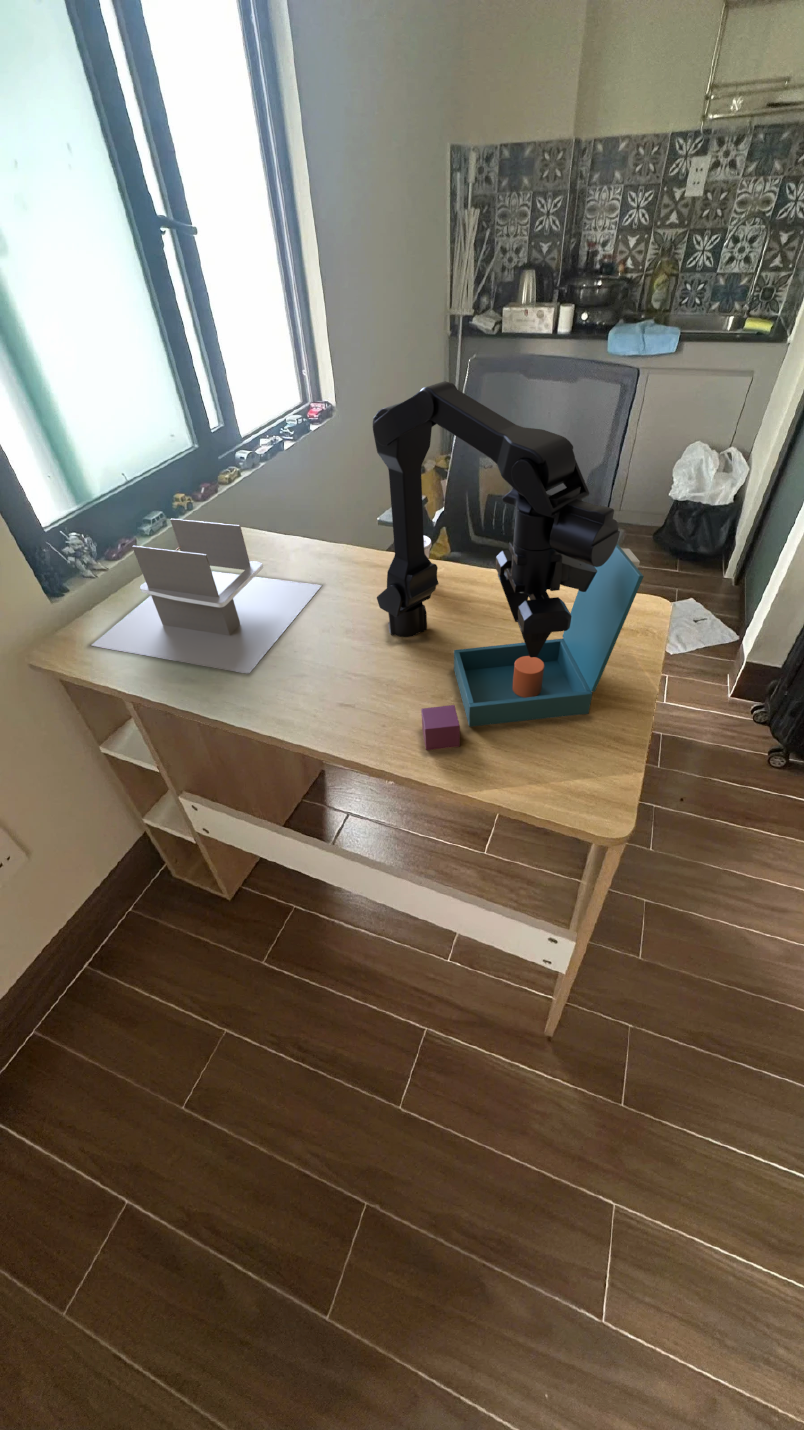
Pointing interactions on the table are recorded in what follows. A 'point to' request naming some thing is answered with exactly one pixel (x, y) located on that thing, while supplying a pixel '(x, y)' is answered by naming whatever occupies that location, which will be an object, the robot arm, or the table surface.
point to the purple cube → (440, 727)
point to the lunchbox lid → (602, 613)
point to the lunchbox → (491, 684)
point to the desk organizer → (207, 602)
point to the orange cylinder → (528, 676)
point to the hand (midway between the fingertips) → (525, 638)
